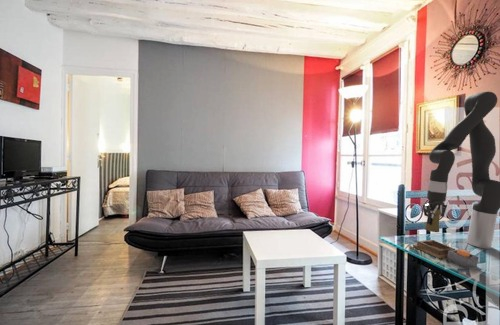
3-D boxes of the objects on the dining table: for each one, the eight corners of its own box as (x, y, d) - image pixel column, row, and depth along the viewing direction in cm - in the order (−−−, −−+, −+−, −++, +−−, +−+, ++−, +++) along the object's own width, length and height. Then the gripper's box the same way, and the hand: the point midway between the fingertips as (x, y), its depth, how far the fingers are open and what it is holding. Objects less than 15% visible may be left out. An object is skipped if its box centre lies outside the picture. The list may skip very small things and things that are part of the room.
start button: (460, 256, 109) (461, 248, 109) (470, 261, 106) (472, 253, 105) (453, 257, 108) (455, 249, 108) (464, 262, 104) (465, 253, 104)
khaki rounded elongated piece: (441, 232, 126) (444, 210, 125) (427, 231, 127) (430, 209, 126) (435, 228, 132) (438, 207, 131) (422, 227, 133) (425, 206, 132)
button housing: (458, 258, 112) (459, 249, 111) (476, 266, 105) (478, 257, 105) (446, 259, 109) (448, 250, 109) (465, 268, 103) (467, 258, 102)
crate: (431, 245, 125) (432, 239, 125) (458, 256, 114) (459, 249, 113) (412, 246, 121) (413, 240, 121) (439, 258, 110) (440, 251, 109)
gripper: (439, 188, 133) (435, 221, 135) (419, 189, 129) (415, 223, 130) (455, 192, 126) (450, 226, 128) (434, 192, 122) (430, 228, 123)
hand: (432, 224), depth 129 cm, fingers closed on khaki rounded elongated piece, 4 cm apart
